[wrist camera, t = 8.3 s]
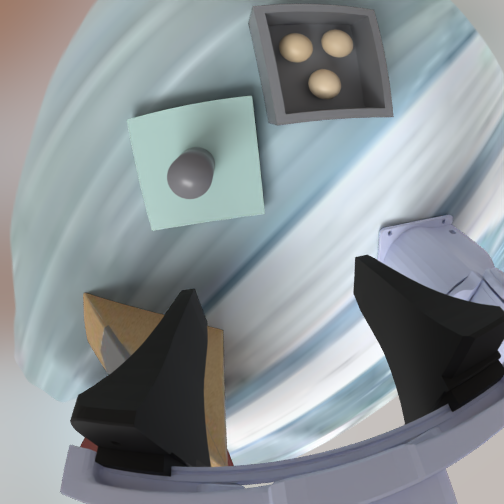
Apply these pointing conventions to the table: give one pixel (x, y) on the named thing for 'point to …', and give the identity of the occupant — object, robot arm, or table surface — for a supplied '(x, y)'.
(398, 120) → the table surface
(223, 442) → the sandwich container
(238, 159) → the lid
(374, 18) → the box
